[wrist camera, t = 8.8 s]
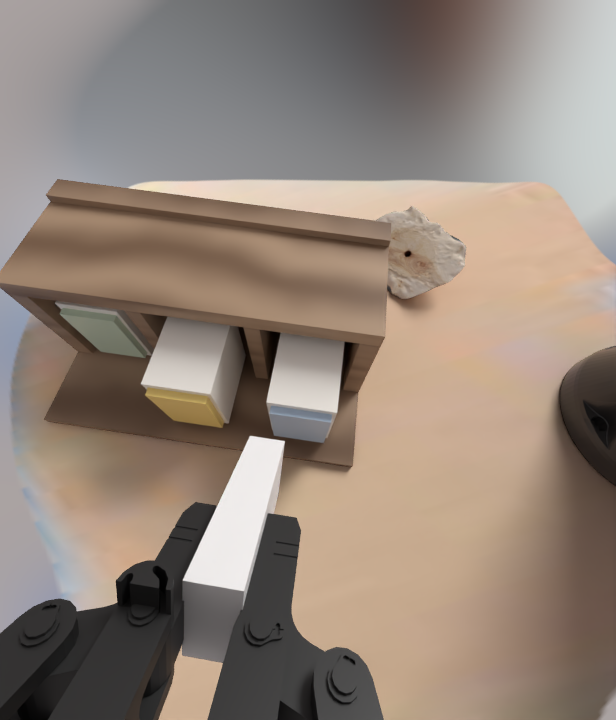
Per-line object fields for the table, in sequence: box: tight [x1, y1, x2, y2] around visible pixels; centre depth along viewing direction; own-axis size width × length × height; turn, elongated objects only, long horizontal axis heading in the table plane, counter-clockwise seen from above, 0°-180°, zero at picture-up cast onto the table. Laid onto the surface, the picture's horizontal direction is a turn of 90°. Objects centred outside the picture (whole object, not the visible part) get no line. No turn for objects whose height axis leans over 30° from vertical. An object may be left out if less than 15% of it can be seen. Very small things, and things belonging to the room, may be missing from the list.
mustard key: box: [141, 317, 246, 428], centre depth 28 cm, size 8×5×8 cm, turn 172°
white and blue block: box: [266, 333, 344, 443], centre depth 28 cm, size 8×5×8 cm, turn 172°
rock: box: [376, 206, 466, 299], centre depth 40 cm, size 11×4×12 cm
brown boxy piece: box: [0, 179, 391, 467], centre depth 29 cm, size 18×28×12 cm, turn 82°
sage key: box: [55, 301, 154, 358], centre depth 31 cm, size 8×5×8 cm, turn 172°
